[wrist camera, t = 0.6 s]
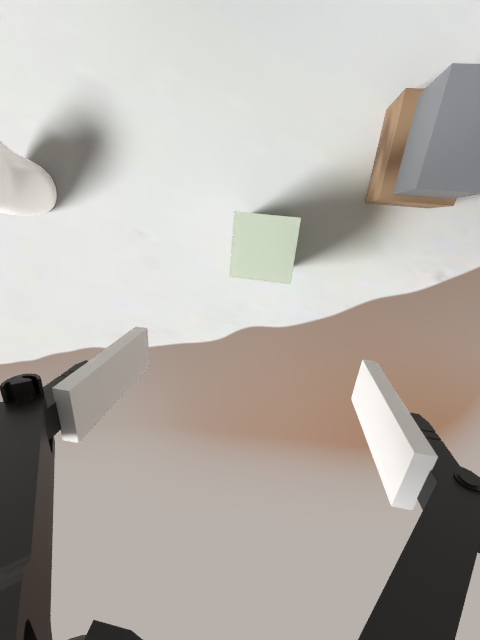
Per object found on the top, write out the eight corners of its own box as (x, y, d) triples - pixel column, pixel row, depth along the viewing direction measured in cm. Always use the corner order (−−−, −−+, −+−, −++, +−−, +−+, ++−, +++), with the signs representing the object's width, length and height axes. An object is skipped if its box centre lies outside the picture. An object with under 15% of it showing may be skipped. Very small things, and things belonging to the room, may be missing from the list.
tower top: (419, 95, 24) (452, 63, 19) (480, 97, 23) (530, 65, 18) (392, 194, 26) (416, 188, 22) (446, 198, 26) (483, 193, 21)
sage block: (247, 214, 34) (234, 211, 24) (296, 219, 33) (301, 217, 24) (243, 262, 36) (229, 276, 26) (288, 268, 35) (290, 284, 26)
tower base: (385, 110, 28) (406, 88, 24) (456, 113, 27) (492, 91, 23) (364, 203, 31) (378, 199, 27) (427, 208, 31) (453, 205, 26)
